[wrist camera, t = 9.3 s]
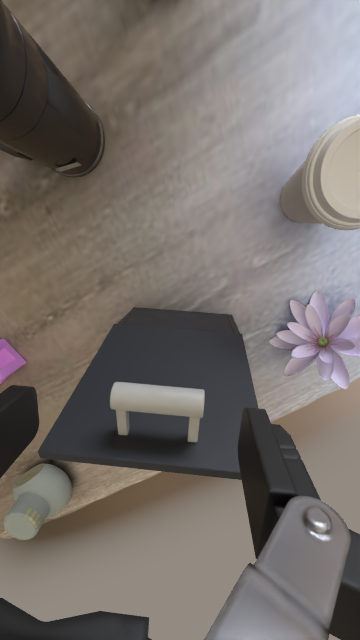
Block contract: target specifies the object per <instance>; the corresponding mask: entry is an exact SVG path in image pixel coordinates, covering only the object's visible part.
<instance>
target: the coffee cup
mask: <svg viewBox="0 0 360 640" xmlns="http://www.w3.org/2000/svg"><path fill="white" fill-rule="evenodd" d="M280 205H281V209H282V211H283V213H284V214H285V215H286V217H288V218H289V219H290V220H292V221H295V222H301V223H321V224H325V225H327V226H329V227H331V228H335V229H340V230H354V229H359V228H360V114H358V115H355V116H351V117H348V118H346V119H343V120H341V121H339V122H338V123H336V124H334V125H333V126H331V127H330V128H329V129H328V130H326V131H325V132H324V133H323V134H322V135H321V136H320V137H319V139H318V140H317V141H316V142H315V144H314V145H313V147H312V148H311V150H310V152H309V154H308V156H307V159H306V161H305V162H304V163H303V164H302V165H301V166H300V168H299V169H298V170H297V171H296V172H295V173H294V174H293V175H292V176H291V177H290V179H289V180H288V181H287V182H286V183H285V185H284V187H283V189H282V191H281V195H280Z"/></svg>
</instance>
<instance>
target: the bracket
mask: <svg viewBox="0 0 360 640" xmlns="http://www.w3.org/2000/svg"><path fill="white" fill-rule="evenodd" d="M25 363H27V362H26V361H25V360H24V359H23V358H22V357H21V356H20V355H19V354H18V352H17V351H16V350H15V349H14V348H13V347H12V346H11V345H10V344H9V343H8V342H7V341H6V340H5V339H4V338H3V339H1V340H0V384H1V383H2V382H3V381H4V380H6V379H7V378H8V377H9V376H11V375H12V374H13V373H14V372H16V371H17V370H18V369H19V368H21V367H22V366H23V365H24V364H25Z"/></svg>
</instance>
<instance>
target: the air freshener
mask: <svg viewBox="0 0 360 640" xmlns="http://www.w3.org/2000/svg"><path fill="white" fill-rule="evenodd" d="M71 496H72V485H71V482H70V479H69V477H68V476H67V475H66V473H65V472H64V471H63V470H61V469H60V468H58V467H56V466H54V465H51V464H44V463H43V464H39V465H37V466H35V467H33V468H32V469H30V470H29V471H27V472H26V473H25V474H23V475H22V476H21V477H20V478H19V479H18V480H17V481H16V482H15V483H14V485H13V498H14V501H15V504H14V505H13V507H12V508H11V510H10V511H9V513H8V514H7V516H6V517H5V519H4V528H5V530H6V531H7V533H8V534H9V535H11V536H12V537H14V538H17V539H20V540H26V539H30V538H32V537H34V536H35V535H36V534H37V532H38V530H39V529H40V527H41V525H42V523H43V522H44V520H45V518H49V517H51V516H53V515H55V514H56V513H58V512H59V511H60V510H62V509H63V508H64V507H65V506H66V505H67V504H68V502H69V501H70V499H71Z"/></svg>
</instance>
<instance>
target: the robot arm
mask: <svg viewBox="0 0 360 640" xmlns="http://www.w3.org/2000/svg"><path fill="white" fill-rule="evenodd" d="M0 150H2V151H5V152H7V153H9V154H11V155H13V156H16V157H20V158H24V159H28V160H32V159H34V160H36V161H38V162H40V163H42V164H44V165H45V166H47V167H49V168H51V169H53V170H54V171H56V172H58V173H60V174H62V175H65V176H69V177H79V176H83V175H86V174H87V173H89V172H91V171H92V170H93V169H94V168H95V167H96V166H97V164H98V163H99V161H100V159H101V157H102V154H103V150H104V132H103V128H102V125H101V123H100V120H99V118H98V117H97V115H96V114H95V112H94V111H93V110H92V109H91V108H90V106H89V105H88V104H86V103H85V101H84V100H83V99H82V98H81V96H80V95H79V94H78V93H77V91H76V90H75V89H74V88H73V87H72V85H71V84H70V83H69V82H68V80H67V79H66V78H65V77H64V76H63V74H62V73H61V72H60V71H59V70H58V68H57V67H56V66H55V65H54V63H53V62H52V61H51V60H50V59H49V57H48V56H47V55H46V54H45V52H44V51H43V50H42V49H41V48H40V46H39V45H38V44H37V43H36V41H35V40H34V39H33V38H32V37H31V35H30V34H29V33H28V32H27V31H26V30H25V28H24V27H23V26H22V25H21V23H20V22H19V21H18V20H17V19H16V17H15V16H14V15H13V14H12V13H11V11H10V10H9V9H8V8H7V6H6V5H5V4H4V3H3V2H2V0H0ZM38 427H39V414H38V404H37V394H36V390H35V388H34V387H28V386H17V385H12V386H10V387H9V388H7V389H6V390H5V391H3V392H2V393H1V394H0V478H1V477H2V476H3V474H4V473H5V472H6V471H7V470H8V468H9V467H10V466H11V465H12V464H13V462H14V461H15V460H16V459H17V458H18V457H19V455H20V454H21V453H22V452H23V451H24V449H25V448H26V447H27V446H28V445H29V443H30V442H31V441H32V440H33V439H34V437H35V435H36V433H37V431H38ZM238 461H239V467H240V473H241V478H242V483H243V489H244V495H245V500H246V506H247V512H248V517H249V523H250V528H251V534H252V539H253V545H254V550H255V556H256V559H257V561H256V562H255V564H254V565H252V564H251V563H250V564H248V565H247V567H246V568H245V569H244V571H243V572H242V574H241V576H240V578H239V579H238V581H237V583H236V584H235V586H234V588H233V590H232V591H231V594H230V595H229V597H228V599H227V600H226V602H225V604H224V606H223V607H222V609H221V611H220V613H219V614H218V616H217V618H216V620H215V621H214V623H213V625H212V627H211V628H210V630H209V632H208V634H207V636H206V637H205V639H204V640H328V638H329V633H330V634H331V635H333V636H335V637H337V638H339V639H341V640H360V534H358V533H356V532H353V531H352V530H350V529H348V527H347V525H346V523H345V522H344V520H343V519H342V518H341V516H340V515H339V514H338V513H337V512H336V511H335V510H334V509H333V508H331V507H330V506H329V505H327V504H326V503H324V502H322V501H321V499H320V497H319V495H318V493H317V491H316V489H315V487H314V485H313V483H312V480H311V478H310V476H309V474H308V472H307V470H306V468H305V465H304V463H303V461H302V460H301V458H300V455H299V453H298V451H297V450H296V446H295V444H294V442H293V440H292V438H291V436H290V435H289V434H288V433H287V432H286V431H285V430H284V429H283V428H282V427H281V426H280V425H275V424H271V423H270V420H269V418H268V415H267V413H266V410H265V409H257V408H246V407H244V409H243V412H242V419H241V426H240V432H239V439H238ZM148 628H149V618H148V617H141V616H133V615H126V614H118V613H110V612H103V611H98V612H94V613H89V614H84V615H79V616H75V617H69V618H64V619H60V620H55V621H50V622H43V621H40V620H38V619H36V618H34V617H33V616H31V615H29V614H28V613H26V612H24V611H23V610H21V609H19V608H18V607H16V606H14V605H12V604H11V603H9V602H8V601H6V600H4V599H3V598H0V640H151V639H150V638H148Z"/></svg>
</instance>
